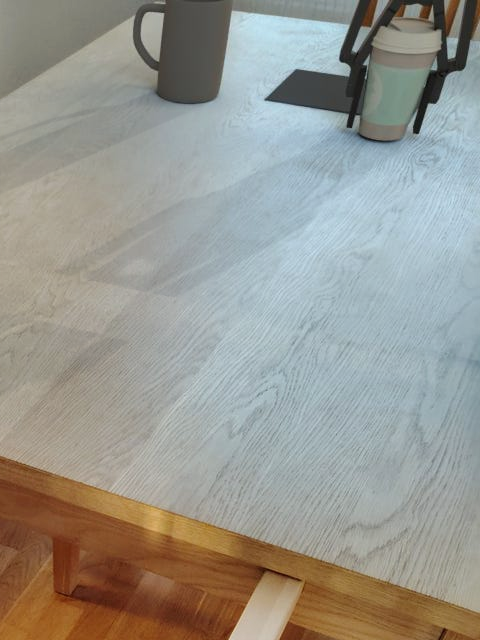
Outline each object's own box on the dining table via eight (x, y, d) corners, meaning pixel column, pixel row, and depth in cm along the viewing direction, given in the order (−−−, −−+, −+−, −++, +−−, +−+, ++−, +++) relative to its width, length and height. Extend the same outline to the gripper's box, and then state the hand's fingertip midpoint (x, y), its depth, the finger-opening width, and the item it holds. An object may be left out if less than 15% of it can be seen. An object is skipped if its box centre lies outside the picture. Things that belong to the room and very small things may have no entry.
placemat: (431, 89, 129) (432, 88, 129) (408, 122, 121) (408, 121, 121) (295, 69, 136) (296, 68, 136) (264, 99, 127) (264, 98, 127)
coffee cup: (355, 117, 121) (382, 12, 112) (420, 127, 119) (453, 20, 110) (340, 138, 116) (367, 29, 107) (407, 149, 114) (441, 38, 105)
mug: (227, 87, 131) (242, -12, 122) (208, 107, 126) (223, 5, 117) (139, 76, 135) (147, -21, 126) (117, 95, 130) (125, -5, 121)
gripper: (540, -99, 100) (464, 124, 117) (351, -106, 105) (304, 111, 122) (546, -86, 96) (466, 145, 113) (348, -93, 100) (300, 130, 117)
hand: (382, 127), depth 117 cm, fingers closed on coffee cup, 8 cm apart
